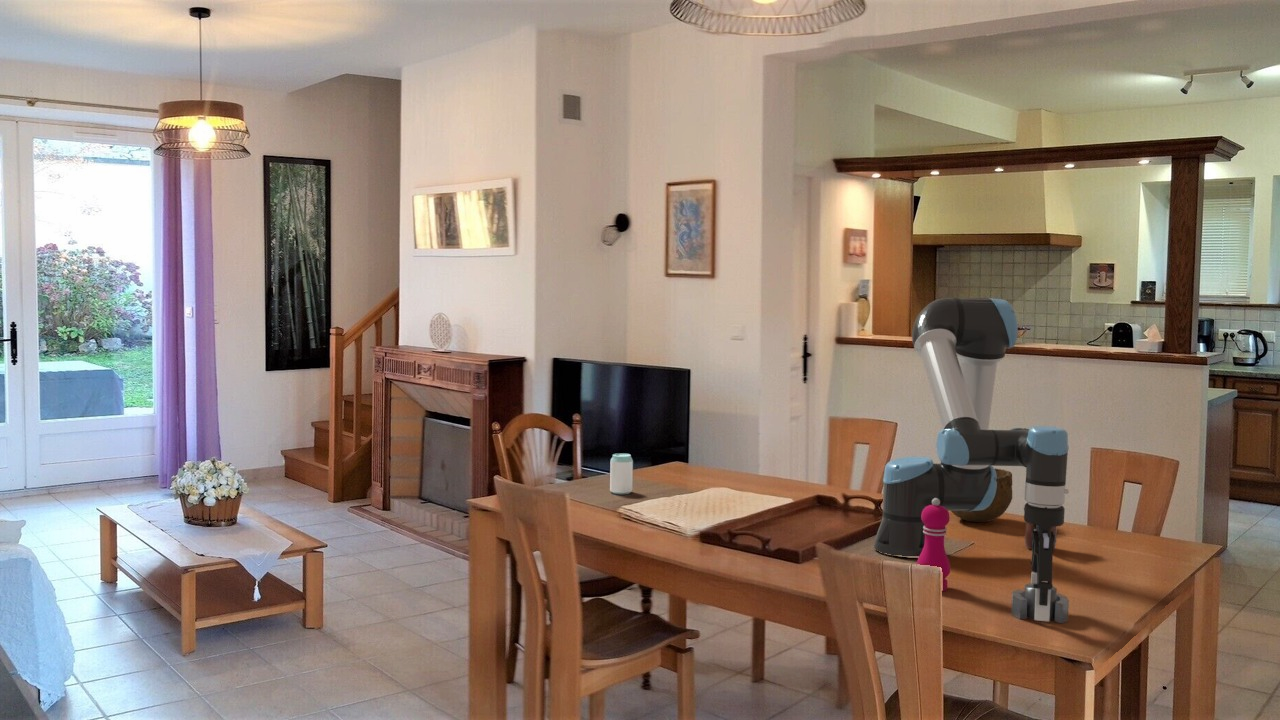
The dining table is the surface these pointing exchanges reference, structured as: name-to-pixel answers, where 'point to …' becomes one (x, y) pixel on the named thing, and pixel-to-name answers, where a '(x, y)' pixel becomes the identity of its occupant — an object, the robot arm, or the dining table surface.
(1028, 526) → the mug
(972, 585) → the dining table surface
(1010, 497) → the bowl
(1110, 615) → the dining table surface
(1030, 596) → the cap
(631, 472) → the can
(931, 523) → the pepper mill
